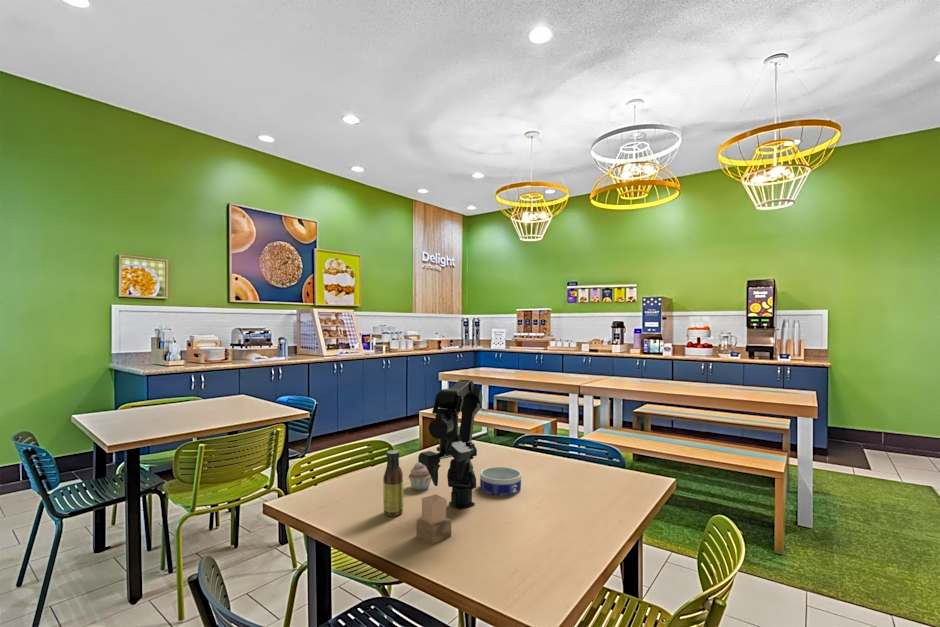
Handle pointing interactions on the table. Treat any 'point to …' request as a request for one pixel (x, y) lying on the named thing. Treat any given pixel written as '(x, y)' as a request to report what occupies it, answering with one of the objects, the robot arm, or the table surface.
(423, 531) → the walnut block
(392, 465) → the sauce bottle
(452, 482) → the robot arm
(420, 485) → the cupcake
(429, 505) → the light wooden cube
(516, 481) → the dog bowl
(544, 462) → the table surface
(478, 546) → the table surface
